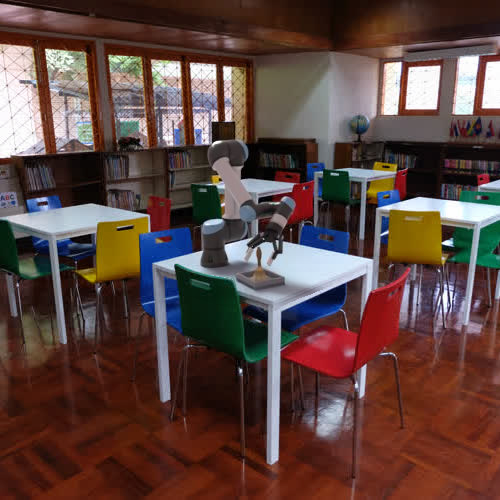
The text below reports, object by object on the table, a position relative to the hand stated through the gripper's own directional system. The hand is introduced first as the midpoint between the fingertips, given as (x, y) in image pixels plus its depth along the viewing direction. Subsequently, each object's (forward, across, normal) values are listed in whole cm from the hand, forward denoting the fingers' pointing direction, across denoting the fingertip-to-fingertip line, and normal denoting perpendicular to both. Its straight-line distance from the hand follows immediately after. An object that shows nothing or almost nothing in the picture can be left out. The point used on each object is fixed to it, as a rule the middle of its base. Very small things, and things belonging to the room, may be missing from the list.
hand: (256, 262), depth 231 cm
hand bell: (+5, 0, -8) cm, 9 cm away
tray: (+6, 0, -9) cm, 10 cm away
